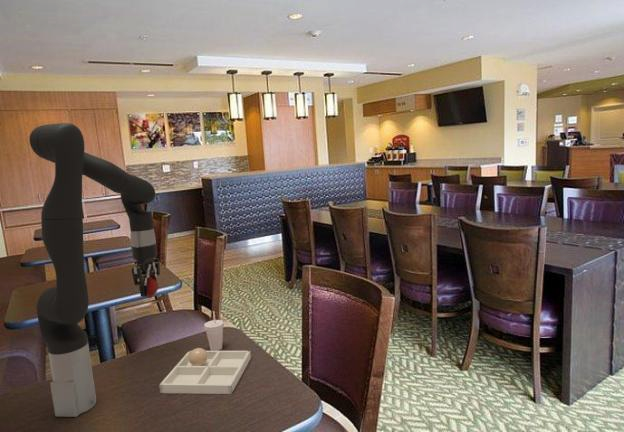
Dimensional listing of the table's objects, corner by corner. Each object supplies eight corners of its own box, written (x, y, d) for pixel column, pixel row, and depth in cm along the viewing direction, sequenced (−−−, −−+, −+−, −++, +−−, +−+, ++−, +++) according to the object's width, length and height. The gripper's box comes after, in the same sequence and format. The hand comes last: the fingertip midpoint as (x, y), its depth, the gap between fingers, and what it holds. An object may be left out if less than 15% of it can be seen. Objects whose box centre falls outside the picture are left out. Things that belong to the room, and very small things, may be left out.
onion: (152, 301, 138) (150, 277, 137) (136, 300, 140) (134, 277, 138) (162, 295, 144) (160, 272, 143) (147, 295, 145) (144, 272, 144)
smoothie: (215, 356, 139) (211, 316, 137) (202, 352, 143) (198, 312, 141) (230, 349, 144) (226, 309, 142) (217, 344, 148) (213, 306, 146)
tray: (231, 396, 116) (230, 385, 115) (160, 395, 118) (159, 384, 118) (251, 360, 136) (250, 350, 135) (189, 360, 138) (188, 350, 138)
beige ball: (204, 370, 129) (202, 353, 128) (186, 370, 130) (185, 353, 129) (211, 361, 135) (209, 344, 134) (194, 361, 135) (192, 344, 135)
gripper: (143, 239, 147) (149, 286, 149) (120, 248, 133) (126, 300, 135) (164, 238, 146) (169, 286, 148) (143, 247, 132) (149, 300, 134)
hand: (149, 292), depth 142 cm, fingers closed on onion, 6 cm apart
